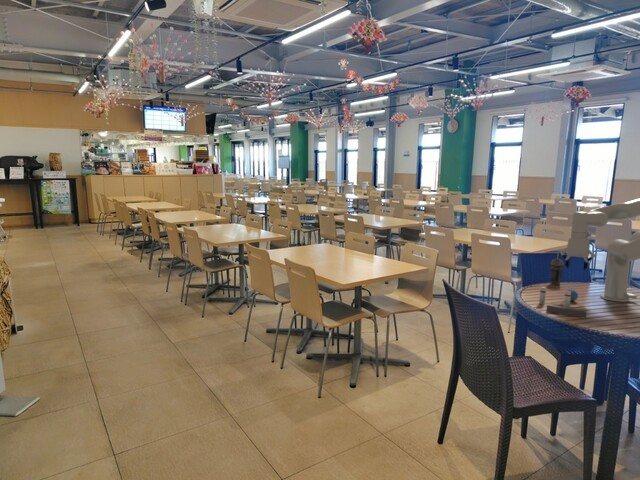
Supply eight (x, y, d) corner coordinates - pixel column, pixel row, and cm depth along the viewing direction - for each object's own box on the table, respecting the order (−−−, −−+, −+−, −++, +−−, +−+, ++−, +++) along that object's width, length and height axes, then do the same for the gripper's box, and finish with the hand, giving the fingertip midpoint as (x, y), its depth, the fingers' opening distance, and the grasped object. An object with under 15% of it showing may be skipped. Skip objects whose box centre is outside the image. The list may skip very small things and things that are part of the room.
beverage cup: (548, 284, 255) (551, 251, 252) (548, 281, 261) (551, 249, 258) (562, 286, 252) (565, 252, 249) (562, 283, 258) (565, 250, 255)
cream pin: (569, 307, 211) (571, 291, 210) (569, 309, 209) (570, 292, 208) (564, 306, 212) (565, 290, 211) (563, 308, 210) (565, 291, 209)
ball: (578, 300, 223) (579, 289, 222) (576, 303, 218) (577, 291, 217) (564, 298, 227) (566, 287, 226) (563, 301, 222) (564, 290, 221)
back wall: (585, 317, 197) (586, 310, 197) (585, 318, 196) (586, 312, 195) (547, 310, 207) (547, 304, 206) (546, 311, 205) (546, 305, 205)
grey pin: (545, 303, 217) (546, 287, 216) (544, 304, 215) (545, 288, 214) (539, 302, 219) (541, 286, 217) (538, 304, 217) (540, 287, 215)
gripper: (599, 235, 223) (595, 269, 225) (561, 233, 233) (558, 265, 236) (598, 237, 217) (594, 271, 220) (559, 234, 227) (556, 267, 230)
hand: (576, 268), depth 228 cm, fingers open, 7 cm apart
